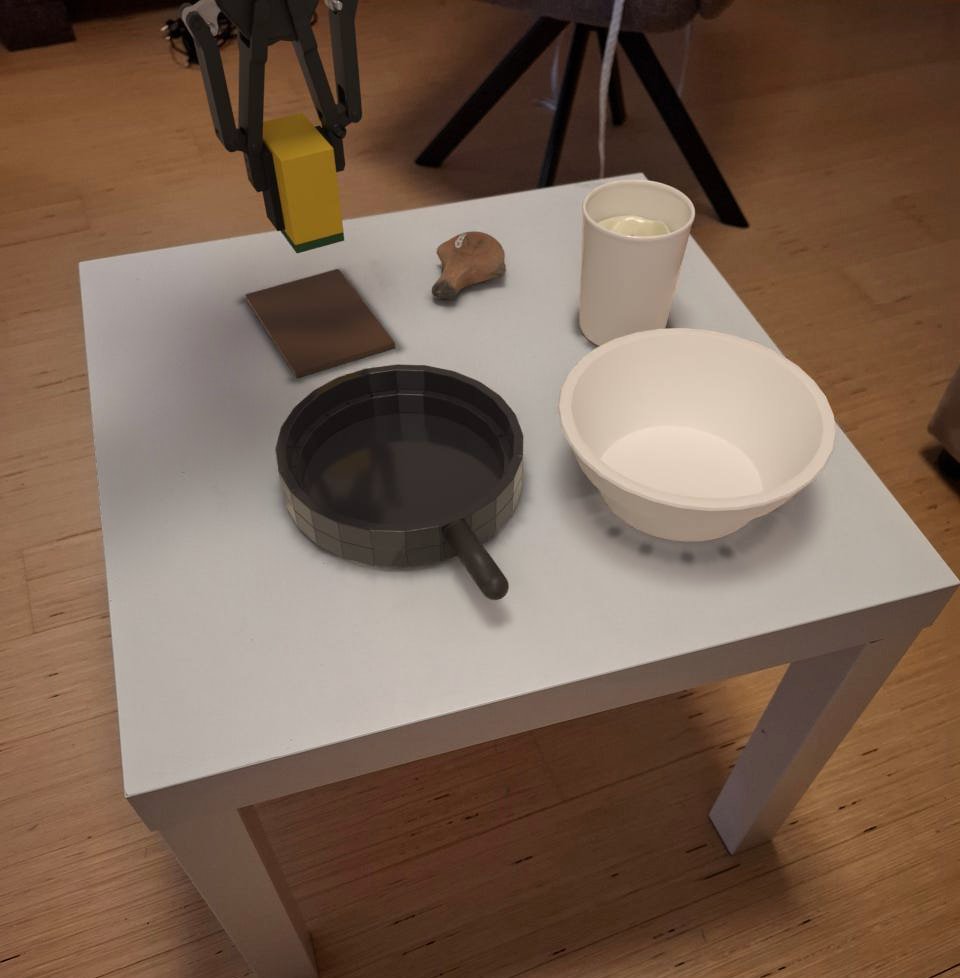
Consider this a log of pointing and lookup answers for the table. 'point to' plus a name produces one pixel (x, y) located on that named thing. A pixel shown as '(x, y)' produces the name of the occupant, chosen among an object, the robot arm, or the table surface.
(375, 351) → the brown flat slab
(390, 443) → the pan
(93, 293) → the table surface
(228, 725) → the table surface
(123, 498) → the table surface
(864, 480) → the table surface
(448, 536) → the pan handle
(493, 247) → the oil lamp
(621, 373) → the bowl
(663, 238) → the candle holder
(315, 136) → the sponge
